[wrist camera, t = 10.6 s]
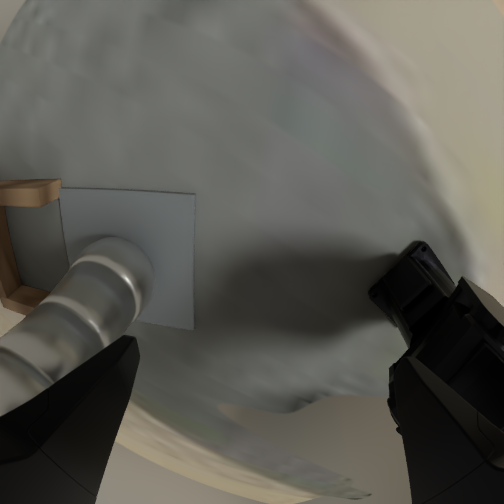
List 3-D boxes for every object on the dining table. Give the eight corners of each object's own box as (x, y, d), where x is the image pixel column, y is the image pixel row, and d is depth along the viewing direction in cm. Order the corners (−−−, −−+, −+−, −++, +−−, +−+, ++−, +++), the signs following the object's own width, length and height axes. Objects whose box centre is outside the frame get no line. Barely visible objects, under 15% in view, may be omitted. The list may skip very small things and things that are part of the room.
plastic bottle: (81, 238, 21) (-84, 415, 3) (146, 218, 20) (-52, 462, 2) (111, 302, 24) (0, 492, 6) (175, 291, 23) (75, 541, 5)
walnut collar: (60, 178, 20) (38, 188, 17) (82, 311, 25) (68, 329, 23) (-7, 181, 20) (-26, 190, 17) (17, 293, 25) (3, 307, 23)
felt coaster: (195, 193, 20) (194, 195, 19) (194, 327, 25) (193, 330, 25) (61, 187, 20) (58, 188, 20) (81, 306, 25) (79, 308, 25)
